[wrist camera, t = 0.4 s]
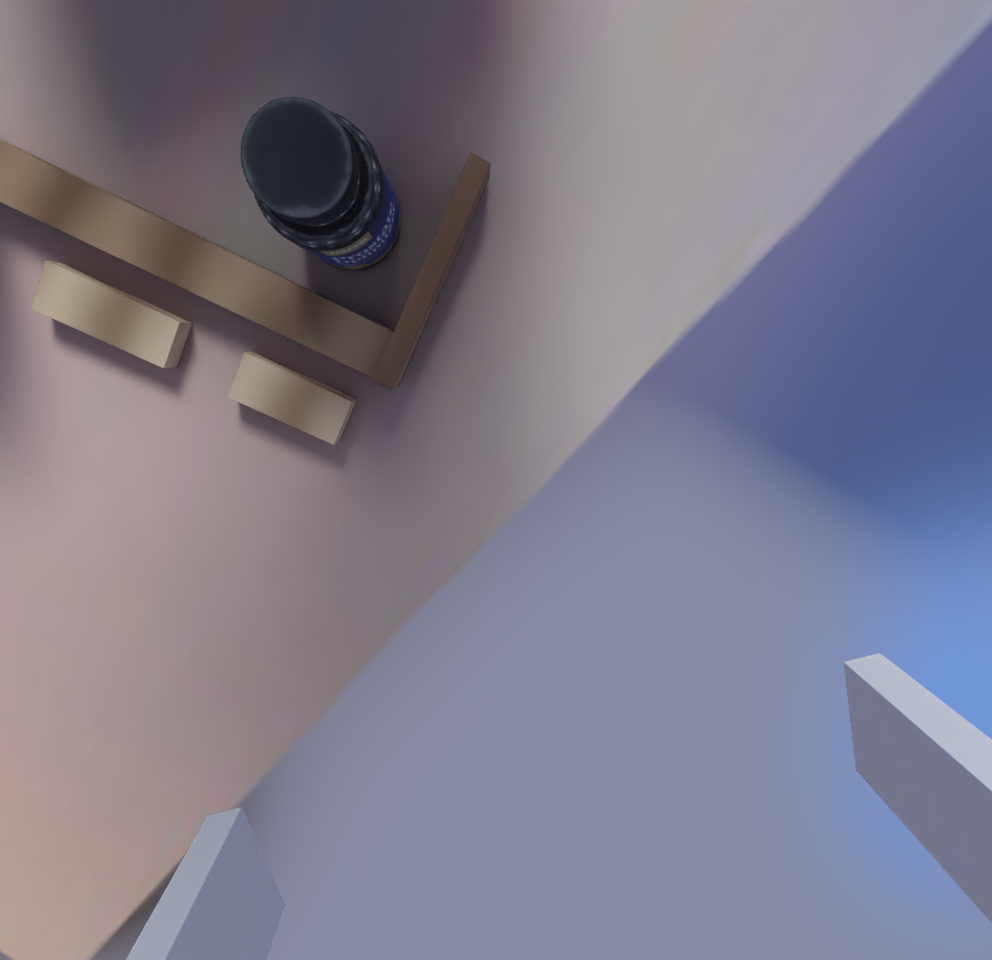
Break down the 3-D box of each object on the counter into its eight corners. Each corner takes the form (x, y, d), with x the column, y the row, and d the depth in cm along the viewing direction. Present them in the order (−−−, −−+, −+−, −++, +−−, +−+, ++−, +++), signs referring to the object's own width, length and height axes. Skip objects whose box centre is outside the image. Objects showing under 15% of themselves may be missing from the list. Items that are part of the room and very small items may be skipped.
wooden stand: (-97, 161, 33) (-461, 43, 20) (-36, -102, 30) (-412, -432, 17) (395, 392, 36) (352, 417, 24) (489, 178, 34) (497, 79, 21)
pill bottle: (360, 292, 35) (310, 269, 25) (280, 223, 34) (190, 167, 24) (423, 212, 34) (399, 151, 24) (342, 138, 33) (279, 39, 23)
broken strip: (50, 310, 35) (30, 308, 33) (64, 263, 34) (45, 259, 33) (339, 440, 37) (333, 444, 36) (357, 399, 37) (351, 401, 35)
